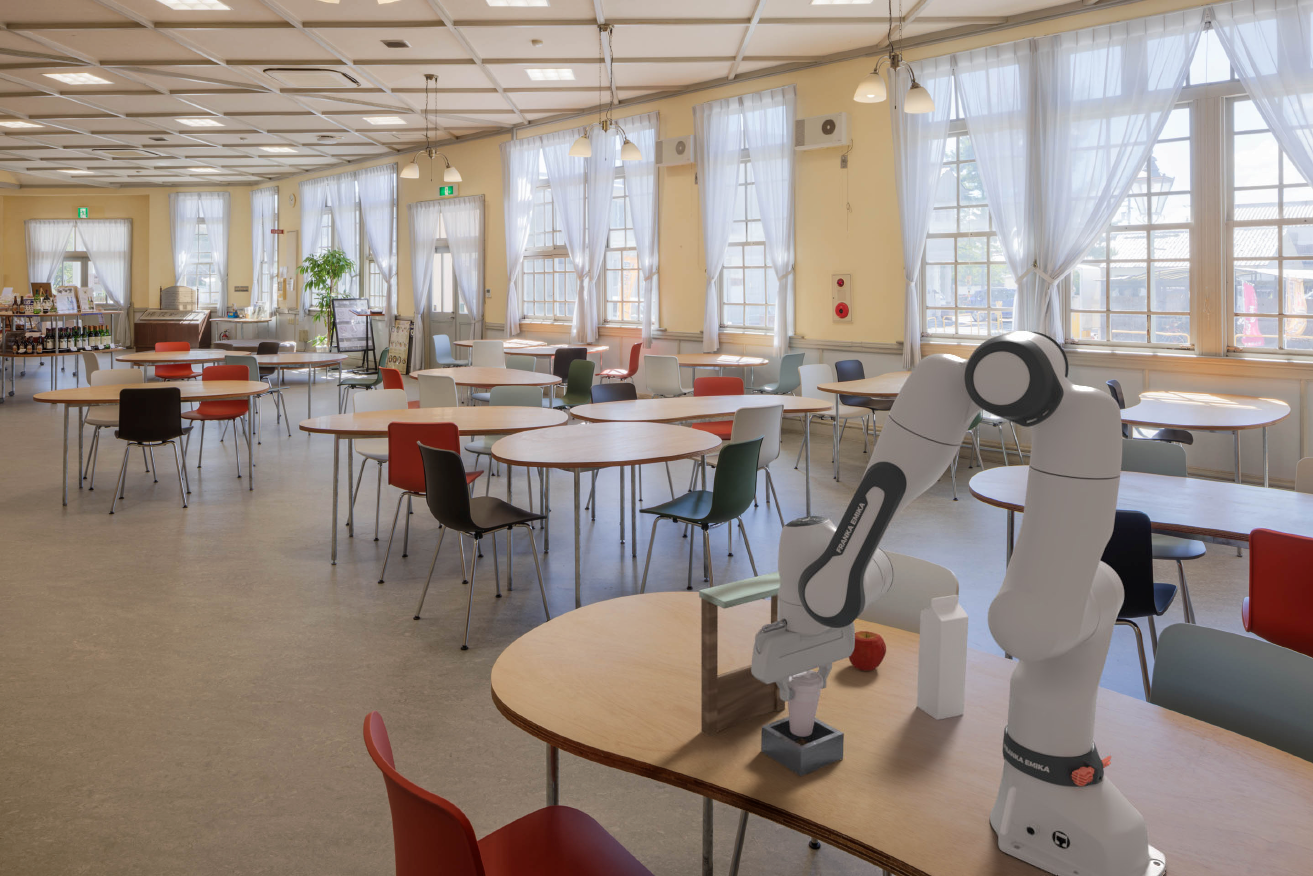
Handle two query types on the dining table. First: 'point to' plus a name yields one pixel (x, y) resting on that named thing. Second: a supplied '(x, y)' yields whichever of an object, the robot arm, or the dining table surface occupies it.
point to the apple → (867, 651)
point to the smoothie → (804, 701)
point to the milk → (942, 658)
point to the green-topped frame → (738, 689)
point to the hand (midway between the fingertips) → (803, 693)
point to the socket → (805, 758)
